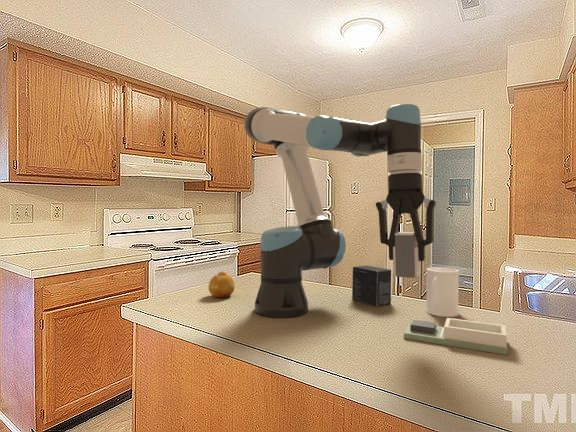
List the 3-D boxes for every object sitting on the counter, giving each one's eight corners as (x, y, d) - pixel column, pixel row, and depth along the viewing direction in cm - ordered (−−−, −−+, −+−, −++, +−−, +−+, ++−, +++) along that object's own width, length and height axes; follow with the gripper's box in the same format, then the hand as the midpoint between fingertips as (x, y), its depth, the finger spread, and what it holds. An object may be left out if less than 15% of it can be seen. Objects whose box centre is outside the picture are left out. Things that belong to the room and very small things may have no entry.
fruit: (225, 284, 128) (217, 266, 124) (242, 289, 124) (235, 271, 120) (209, 300, 123) (200, 282, 119) (226, 306, 118) (218, 288, 114)
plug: (395, 276, 85) (394, 233, 85) (400, 274, 89) (399, 232, 88) (414, 277, 83) (413, 233, 83) (417, 275, 87) (416, 232, 87)
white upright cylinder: (445, 322, 95) (446, 275, 94) (414, 314, 101) (414, 270, 100) (464, 312, 103) (464, 269, 102) (434, 306, 109) (434, 265, 108)
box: (391, 303, 112) (392, 269, 112) (376, 307, 108) (377, 271, 108) (366, 296, 121) (366, 264, 120) (351, 299, 117) (351, 266, 117)
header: (443, 338, 80) (444, 326, 80) (446, 328, 86) (447, 317, 86) (506, 347, 74) (506, 335, 74) (504, 336, 81) (505, 325, 81)
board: (404, 338, 83) (404, 326, 83) (410, 327, 91) (410, 316, 90) (507, 355, 74) (507, 342, 74) (505, 341, 81) (505, 329, 81)
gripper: (363, 174, 87) (366, 275, 87) (442, 168, 78) (444, 279, 78) (373, 177, 93) (375, 270, 93) (446, 172, 85) (448, 274, 85)
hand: (407, 274), depth 86 cm, fingers closed on plug, 4 cm apart
